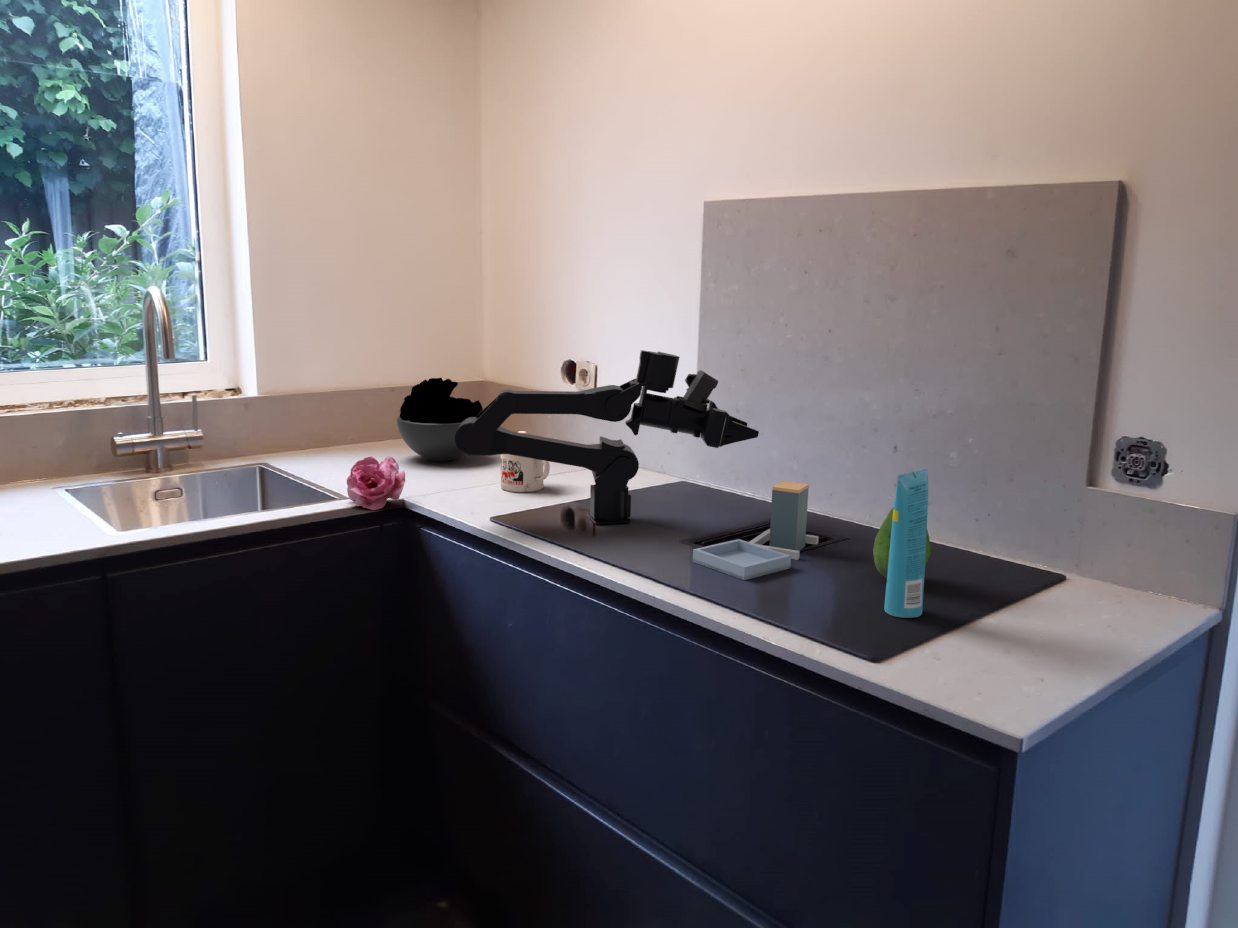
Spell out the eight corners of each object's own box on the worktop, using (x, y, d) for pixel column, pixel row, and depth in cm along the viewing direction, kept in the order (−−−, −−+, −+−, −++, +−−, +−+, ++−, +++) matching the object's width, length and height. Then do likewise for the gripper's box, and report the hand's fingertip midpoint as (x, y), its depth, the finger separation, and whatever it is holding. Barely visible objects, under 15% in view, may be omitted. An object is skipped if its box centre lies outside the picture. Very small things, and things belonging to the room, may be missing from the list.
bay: (745, 551, 154) (745, 544, 153) (768, 535, 163) (768, 528, 163) (797, 559, 150) (797, 552, 149) (818, 543, 159) (818, 536, 159)
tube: (897, 601, 132) (908, 464, 128) (931, 609, 128) (943, 469, 125) (873, 615, 126) (884, 472, 122) (908, 624, 123) (920, 478, 119)
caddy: (769, 549, 155) (772, 486, 153) (779, 542, 159) (782, 481, 157) (795, 554, 153) (799, 490, 151) (805, 546, 157) (808, 484, 155)
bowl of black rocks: (455, 449, 236) (453, 372, 232) (502, 461, 221) (502, 380, 217) (381, 458, 222) (379, 377, 218) (427, 472, 208) (425, 386, 204)
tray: (692, 561, 148) (693, 549, 147) (738, 551, 154) (738, 539, 153) (744, 580, 139) (744, 567, 139) (790, 568, 145) (791, 555, 145)
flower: (380, 528, 175) (346, 488, 171) (363, 520, 184) (330, 481, 180) (426, 488, 179) (394, 447, 175) (408, 482, 188) (377, 442, 184)
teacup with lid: (490, 488, 195) (489, 431, 192) (522, 481, 201) (522, 426, 199) (532, 497, 187) (532, 439, 185) (564, 490, 194) (564, 433, 192)
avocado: (919, 593, 135) (926, 510, 133) (864, 582, 139) (870, 502, 137) (933, 578, 142) (940, 499, 139) (881, 569, 146) (886, 492, 143)
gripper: (685, 374, 158) (775, 392, 160) (669, 363, 176) (751, 379, 178) (671, 439, 160) (760, 456, 162) (657, 422, 178) (737, 437, 180)
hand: (752, 429), depth 170 cm, fingers open, 9 cm apart
